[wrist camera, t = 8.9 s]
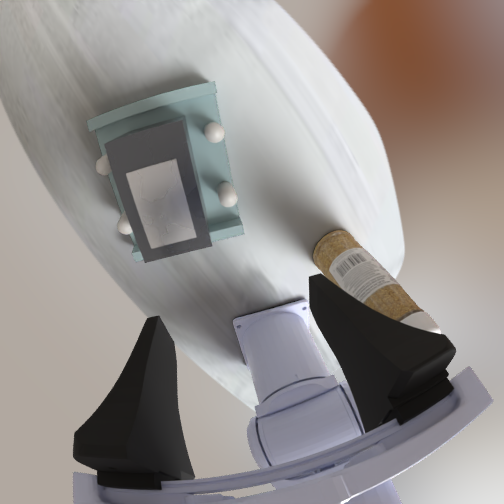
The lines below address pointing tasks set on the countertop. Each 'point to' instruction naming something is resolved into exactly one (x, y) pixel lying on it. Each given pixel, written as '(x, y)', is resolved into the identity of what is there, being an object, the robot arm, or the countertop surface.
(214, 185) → the tray
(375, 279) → the sprinkles bottle
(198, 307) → the countertop surface
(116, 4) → the countertop surface
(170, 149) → the dark grey block
